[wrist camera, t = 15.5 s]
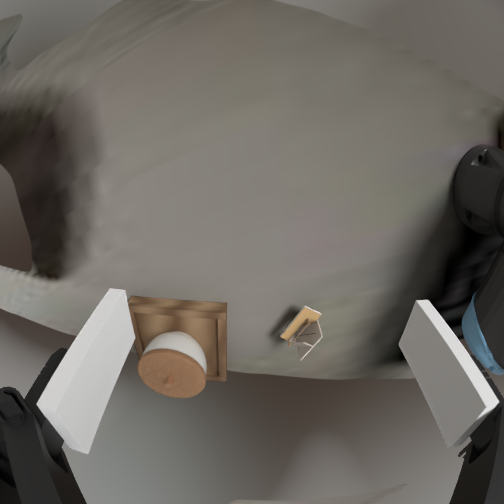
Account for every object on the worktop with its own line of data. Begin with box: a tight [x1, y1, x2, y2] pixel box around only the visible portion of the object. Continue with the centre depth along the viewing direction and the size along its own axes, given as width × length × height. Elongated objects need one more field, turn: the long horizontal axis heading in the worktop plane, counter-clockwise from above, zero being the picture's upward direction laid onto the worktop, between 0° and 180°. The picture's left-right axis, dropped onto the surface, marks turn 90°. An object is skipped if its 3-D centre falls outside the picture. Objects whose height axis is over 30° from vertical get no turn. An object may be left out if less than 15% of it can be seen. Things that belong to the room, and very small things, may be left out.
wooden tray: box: [128, 296, 227, 382], centre depth 48 cm, size 16×16×3 cm
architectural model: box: [280, 306, 323, 360], centre depth 45 cm, size 3×7×7 cm, turn 150°
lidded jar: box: [138, 331, 207, 398], centre depth 44 cm, size 11×11×9 cm
